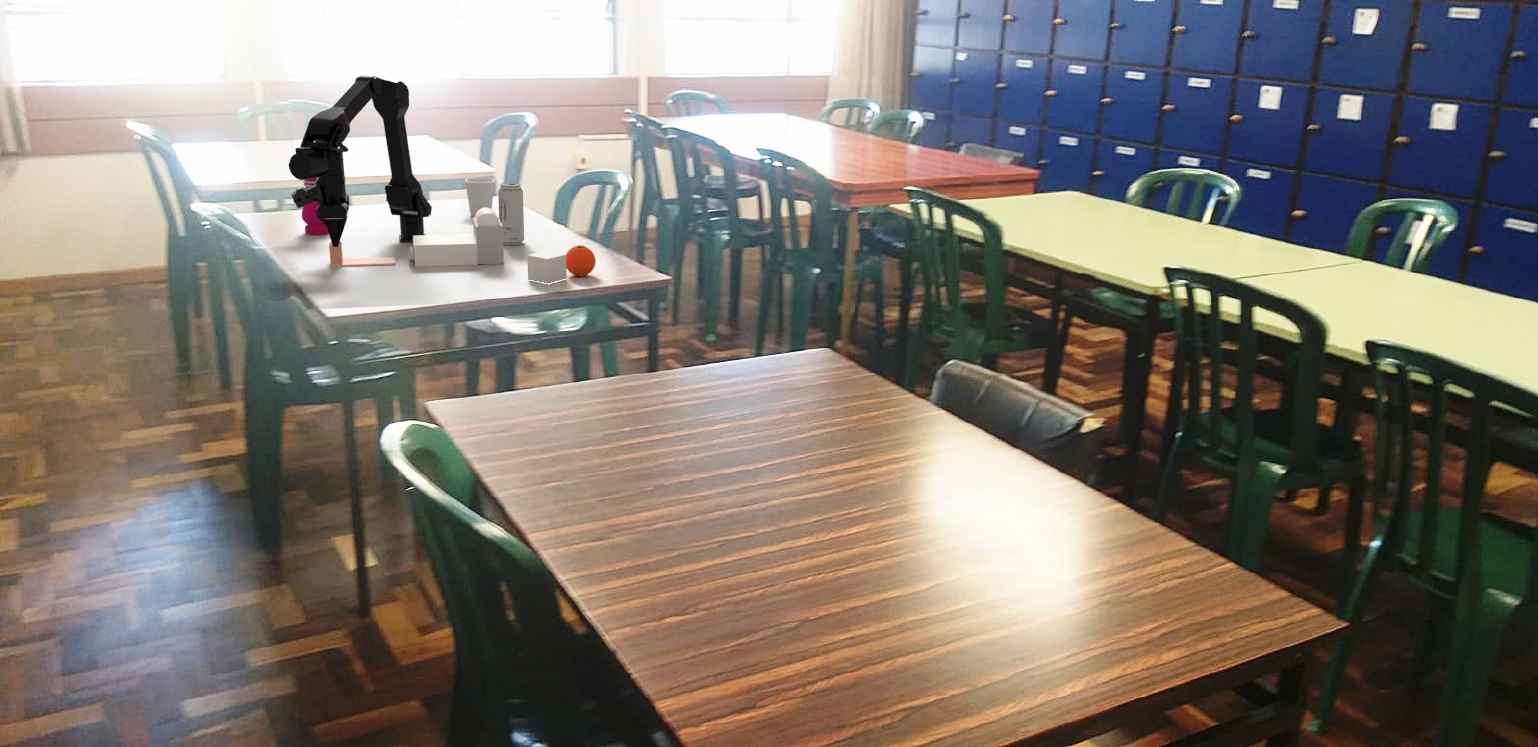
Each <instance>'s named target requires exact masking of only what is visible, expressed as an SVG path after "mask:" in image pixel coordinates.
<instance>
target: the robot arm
mask: <svg viewBox="0 0 1538 747" xmlns="http://www.w3.org/2000/svg"><path fill="white" fill-rule="evenodd" d="M354 80H355V81H354V83H353V84H352V85H351V86H350V87H349V88H348V90H346V91H345V92H344V94H343V95H342V96H341V97H339V99H338V100H337V102H335V103H334V105H333V106H332V107H330V108H328V109H325V110H323V111H320V112H318V113H316V114H315V115H313V116H312V117H311V118H310V119H309V121H308V124H307V127H306V129H305V132H304V136H303V138H302V140H301V144H300V145H299V146H300V147H296V148H295V153H294V154H293V155H292V156H291V157H290V159H289V162H288V169H289V172H290V174H291V175H292V176H293V177H294V178H296V180H299V181H304V180H305V179H310V178H315V177H318V178H317V181H316V184H315V185H312V186H309V187H303V186H302V187H301V188H298V189H296V190H295V191H293V192H292V193H291V198H292V199H293V200H292V201H293V203H294V204H295V206H296V208H297V209H300V208H301V209H302V208H303V206H304V205H307V204H310V203H312V202H315V201H317V204H319V203H320V205H319V206H318V207H317V209H316V212H317V218H318V220H319V221H321V222H322V223H324V224H325V225H326V227H327V230H328V233H329V234H328V235H329V238H330V242H332V245H333V247H338V245H339V242H341V239H342V235H343V232H344V230H345V227H346V223H347V220H348V214H349V210H350V195H349V193H347V190H346V176H345V167H344V166H345V165H344V153H347V152H349V148H348V147H347V146H346V145H345V144H344V142H345V140H346V138H347V136H348V135H349V133H351V123H352V122H353V120H354V119H355V118H356V116H358V114H359V113H360V112H361V111H363V109H364V108H365V107H366V105H367V104H368V103H369V102H370V101H371V102H372V105H373V108H374V109H375V111H376V112H377V113H378V114H379V116H380V117H381V118H382V122H383V128H384V135H385V141H386V147H387V152H388V153H387V154H388V155H387V156H388V160H389V168H390V173H391V178H390V180H389V182H388V184H387V185H386V184H385V187H384V192H385V195H386V196H385V198H386V200H385V201H386V202H387V203H388V206H389V207H388V208H389V210H390V213H391V216H399V225H400V226H399V228H400V229H399V230H400V234H399V235H398V239H399V242H400V243H401V242H413V236H416V235H427V234H425V224H424V218H428V217H429V216H431V215H432V210H433V209H432V208H433V206H432V205H431V203H430V202H429V201H428V199H426V197H425V196H424V193H423V189H422V185H421V183H420V182H419V181H418V180H417V178H416V177H415V176H414V174H413V173H414V172H413V170H412V169H413V167H412V162H411V154H410V146H409V141H408V134H407V126H406V121H405V116H406V114H407V112H408V109H409V108H410V91H409V88H408V85H407V84H405V83H404V82H403V81H401V80H400V81H399V80H387V79H383V78H381V77H377V76H375V75H359V76H357V77H356V78H355V79H354Z"/></svg>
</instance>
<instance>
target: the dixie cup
mask: <svg viewBox="0 0 1538 747" xmlns="http://www.w3.org/2000/svg"><path fill="white" fill-rule="evenodd" d="M495 182H496V180H495V179H494V178H490V177H469V178H467V177H466V178H465V179H464V183H465V189H466V194H467V201H468V206H469V212H470V213H469V214H470V216H471V217H473V218H475V216H476V213H477V211H478V210H480V209H481V208H485V207H486V208H490V209H492V210H493V201H494V200H493V199H494V190H495V189H494V188H495Z"/></svg>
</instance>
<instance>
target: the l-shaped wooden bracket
mask: <svg viewBox="0 0 1538 747" xmlns="http://www.w3.org/2000/svg"><path fill="white" fill-rule="evenodd" d="M328 246H329V247H328V248H329V260H330V268H342V267H344V268H348V267H350V268H351V267H375V266H376V267H377V266H378V267H379V266H382V267H383V266H396V257H393V256H392V257H391V256H390V257H362V258H361V257H360V258H356V257H354V258H343V247H342V246H343V244H342V241H340V242H339V245H338V247H333V245H332V242H331V241H330V242H329V245H328Z"/></svg>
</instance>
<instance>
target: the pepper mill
mask: <svg viewBox="0 0 1538 747" xmlns="http://www.w3.org/2000/svg"><path fill="white" fill-rule="evenodd" d="M317 178H318V177H315V178H310V179H305V180H302V182H303V186H304V188H306V187H309V186H312V185H315V184H316V181H317ZM319 205H320V203H319V204H317V201H315V202H312V203H310V204H307V205H304V206H303V207H302V208H301V209H302V210H301V219H302V221H303V222H304V223H305V224H306V225H305V226H304V233H305V234H306V235H310V236H324V235H329V233H328V230H327V227H326V225H325V224H324V223H322V222H321V221H319V220H318V218H317V212H316V209H317V207H318V206H319Z"/></svg>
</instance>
